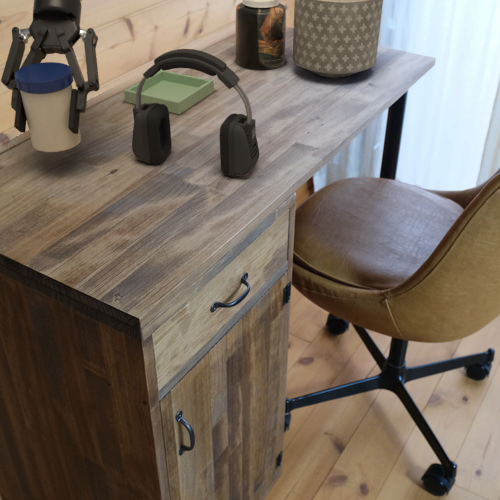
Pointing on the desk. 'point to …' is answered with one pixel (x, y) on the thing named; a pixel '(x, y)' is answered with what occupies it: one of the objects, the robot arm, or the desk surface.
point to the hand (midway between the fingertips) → (46, 130)
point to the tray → (171, 90)
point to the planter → (336, 35)
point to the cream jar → (50, 120)
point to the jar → (260, 34)
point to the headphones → (158, 122)
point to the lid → (43, 77)
